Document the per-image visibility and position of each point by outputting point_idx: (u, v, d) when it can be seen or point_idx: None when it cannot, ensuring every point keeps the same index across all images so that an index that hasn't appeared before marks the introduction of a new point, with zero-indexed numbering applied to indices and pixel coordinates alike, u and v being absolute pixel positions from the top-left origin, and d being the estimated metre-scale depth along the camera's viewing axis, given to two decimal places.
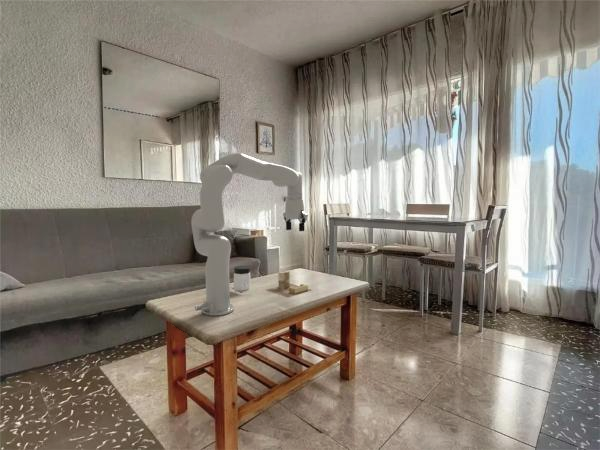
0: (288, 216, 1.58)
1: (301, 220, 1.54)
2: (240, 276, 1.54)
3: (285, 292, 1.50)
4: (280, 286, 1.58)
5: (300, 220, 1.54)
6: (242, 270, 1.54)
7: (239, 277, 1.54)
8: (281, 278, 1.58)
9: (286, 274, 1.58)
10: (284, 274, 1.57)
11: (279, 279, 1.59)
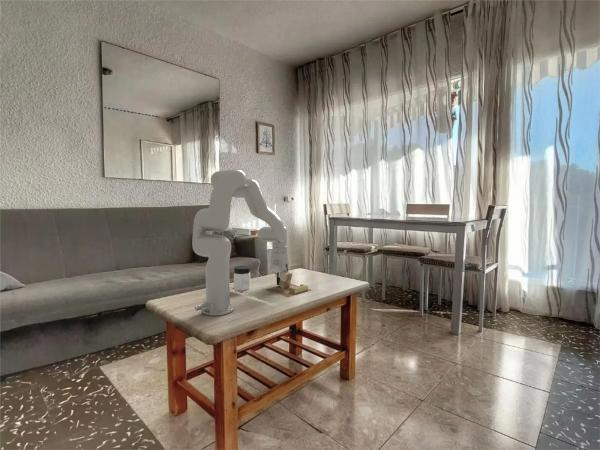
0: (273, 269, 1.61)
1: (280, 276, 1.60)
2: (240, 276, 1.54)
3: (285, 292, 1.50)
4: (280, 285, 1.58)
5: (280, 275, 1.60)
6: (242, 270, 1.54)
7: (239, 277, 1.54)
8: (283, 278, 1.57)
9: (289, 275, 1.57)
10: (287, 275, 1.56)
11: (281, 278, 1.58)
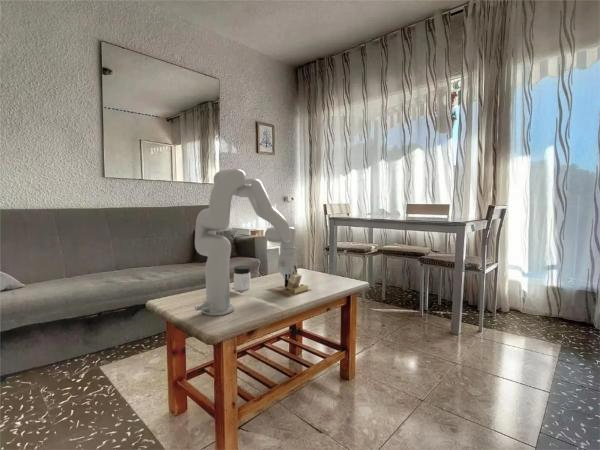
0: (281, 270, 1.56)
1: None
2: (240, 276, 1.54)
3: (285, 292, 1.50)
4: None
5: (288, 277, 1.55)
6: (242, 270, 1.54)
7: (239, 277, 1.54)
8: (292, 281, 1.52)
9: (298, 278, 1.53)
10: (296, 278, 1.51)
11: (289, 280, 1.53)
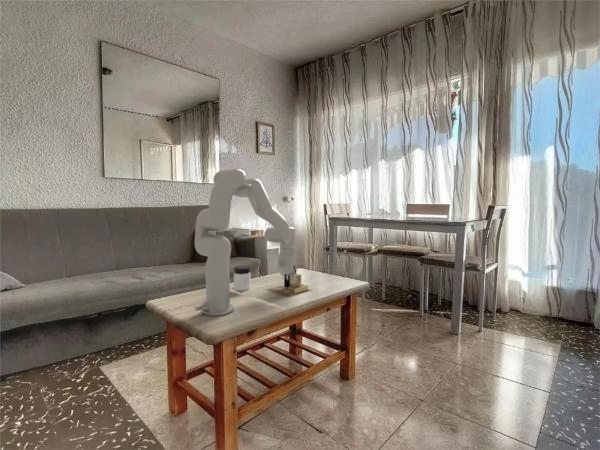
0: (280, 270, 1.57)
1: (288, 278, 1.56)
2: (240, 276, 1.54)
3: (285, 292, 1.50)
4: None
5: (287, 277, 1.55)
6: (242, 270, 1.54)
7: (239, 277, 1.54)
8: (293, 281, 1.51)
9: (298, 277, 1.52)
10: (296, 277, 1.51)
11: (291, 282, 1.53)
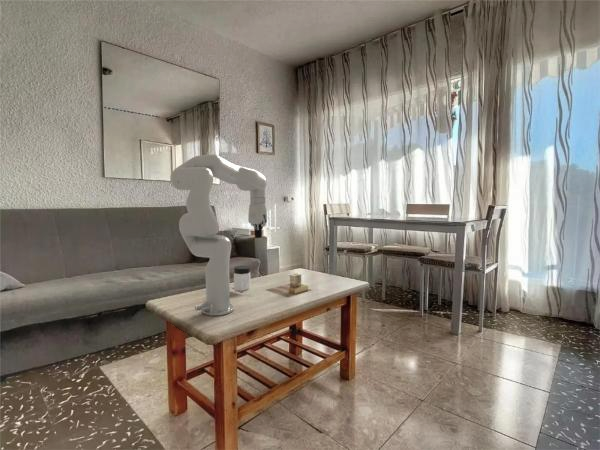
0: (251, 221, 1.55)
1: (259, 228, 1.54)
2: (240, 276, 1.54)
3: (285, 292, 1.50)
4: None
5: (258, 227, 1.54)
6: (242, 270, 1.54)
7: (239, 277, 1.54)
8: (293, 281, 1.51)
9: (298, 277, 1.52)
10: (296, 277, 1.51)
11: (290, 282, 1.53)
